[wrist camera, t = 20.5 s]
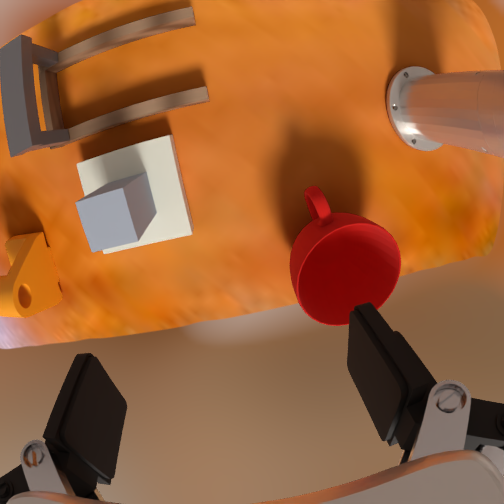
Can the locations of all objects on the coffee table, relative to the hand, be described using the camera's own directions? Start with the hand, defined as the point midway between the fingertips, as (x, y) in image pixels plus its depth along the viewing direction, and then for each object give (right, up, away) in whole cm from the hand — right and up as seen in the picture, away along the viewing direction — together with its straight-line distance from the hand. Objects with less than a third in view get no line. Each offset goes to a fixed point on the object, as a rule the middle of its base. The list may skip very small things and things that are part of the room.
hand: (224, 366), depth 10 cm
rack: (-15, +25, +18) cm, 34 cm away
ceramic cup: (+10, +7, +30) cm, 32 cm away
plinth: (-13, +11, +25) cm, 30 cm away
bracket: (-32, +2, +27) cm, 42 cm away
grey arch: (-22, +22, +15) cm, 34 cm away
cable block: (-13, +10, +22) cm, 28 cm away
